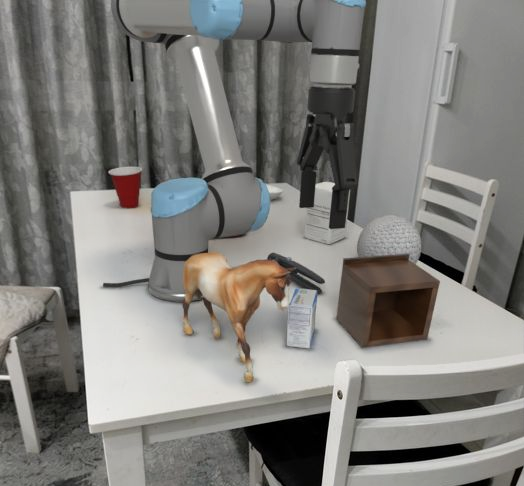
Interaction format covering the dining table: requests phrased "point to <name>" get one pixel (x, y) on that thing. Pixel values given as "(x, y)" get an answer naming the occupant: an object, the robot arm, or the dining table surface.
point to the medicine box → (301, 318)
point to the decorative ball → (389, 238)
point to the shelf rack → (386, 300)
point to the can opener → (299, 269)
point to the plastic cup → (127, 185)
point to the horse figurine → (233, 292)
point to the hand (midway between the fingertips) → (320, 217)
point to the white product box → (323, 216)
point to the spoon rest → (274, 192)
